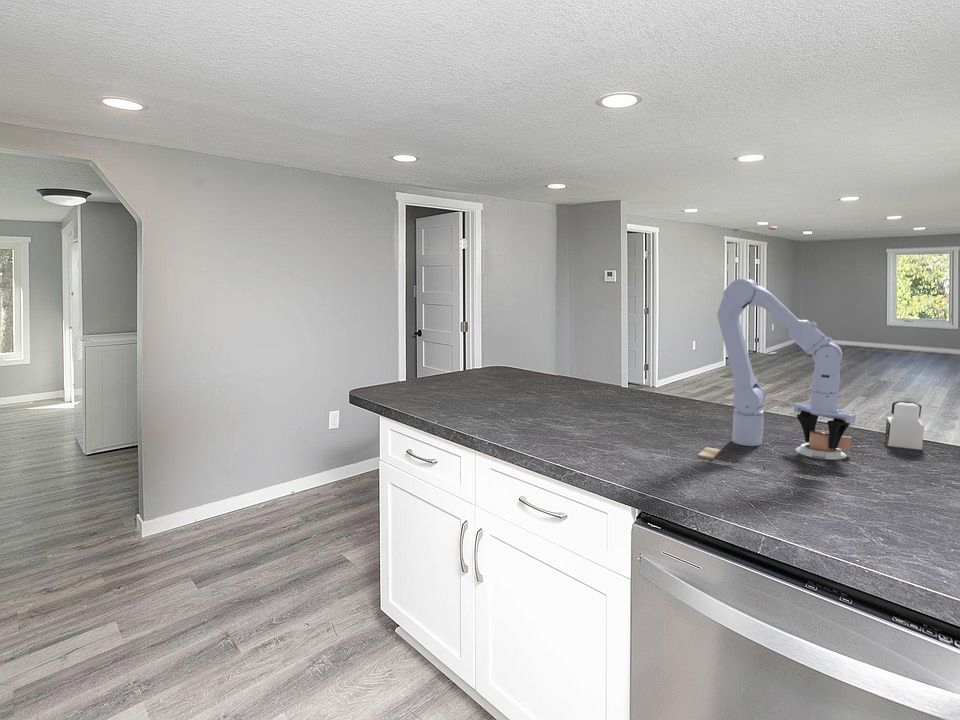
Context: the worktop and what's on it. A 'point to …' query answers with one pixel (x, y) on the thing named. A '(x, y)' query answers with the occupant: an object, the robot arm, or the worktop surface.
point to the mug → (826, 441)
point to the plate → (820, 452)
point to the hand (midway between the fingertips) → (821, 445)
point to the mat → (709, 453)
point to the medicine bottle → (905, 426)
